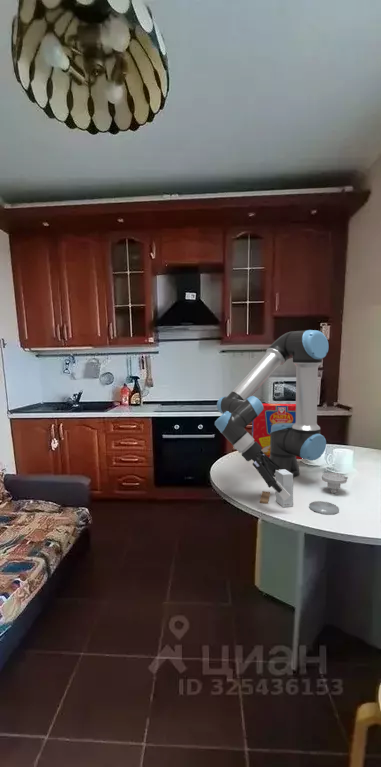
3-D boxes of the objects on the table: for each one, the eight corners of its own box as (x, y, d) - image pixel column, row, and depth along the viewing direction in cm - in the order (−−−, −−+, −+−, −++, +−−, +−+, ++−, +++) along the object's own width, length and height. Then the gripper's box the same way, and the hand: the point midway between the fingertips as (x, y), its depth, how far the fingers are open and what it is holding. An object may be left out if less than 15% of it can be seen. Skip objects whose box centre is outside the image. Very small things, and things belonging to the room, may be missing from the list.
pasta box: (252, 457, 195) (253, 405, 192) (251, 453, 203) (252, 403, 200) (306, 459, 192) (308, 406, 190) (303, 455, 200) (305, 404, 198)
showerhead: (344, 480, 140) (318, 474, 146) (343, 498, 141) (317, 492, 147) (351, 474, 147) (326, 468, 154) (350, 491, 148) (325, 485, 154)
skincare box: (293, 506, 133) (294, 473, 132) (282, 507, 132) (283, 474, 131) (285, 499, 139) (286, 468, 138) (274, 501, 138) (275, 469, 137)
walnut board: (262, 493, 146) (262, 491, 146) (270, 493, 145) (270, 491, 145) (259, 502, 136) (259, 500, 136) (267, 503, 135) (268, 501, 135)
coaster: (308, 501, 138) (308, 499, 138) (337, 504, 135) (337, 503, 135) (309, 512, 128) (309, 510, 128) (340, 516, 125) (340, 514, 125)
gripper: (245, 445, 150) (282, 485, 147) (235, 463, 127) (278, 511, 124) (259, 433, 148) (296, 473, 145) (250, 449, 125) (295, 497, 122)
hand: (288, 491), depth 135 cm, fingers open, 13 cm apart
